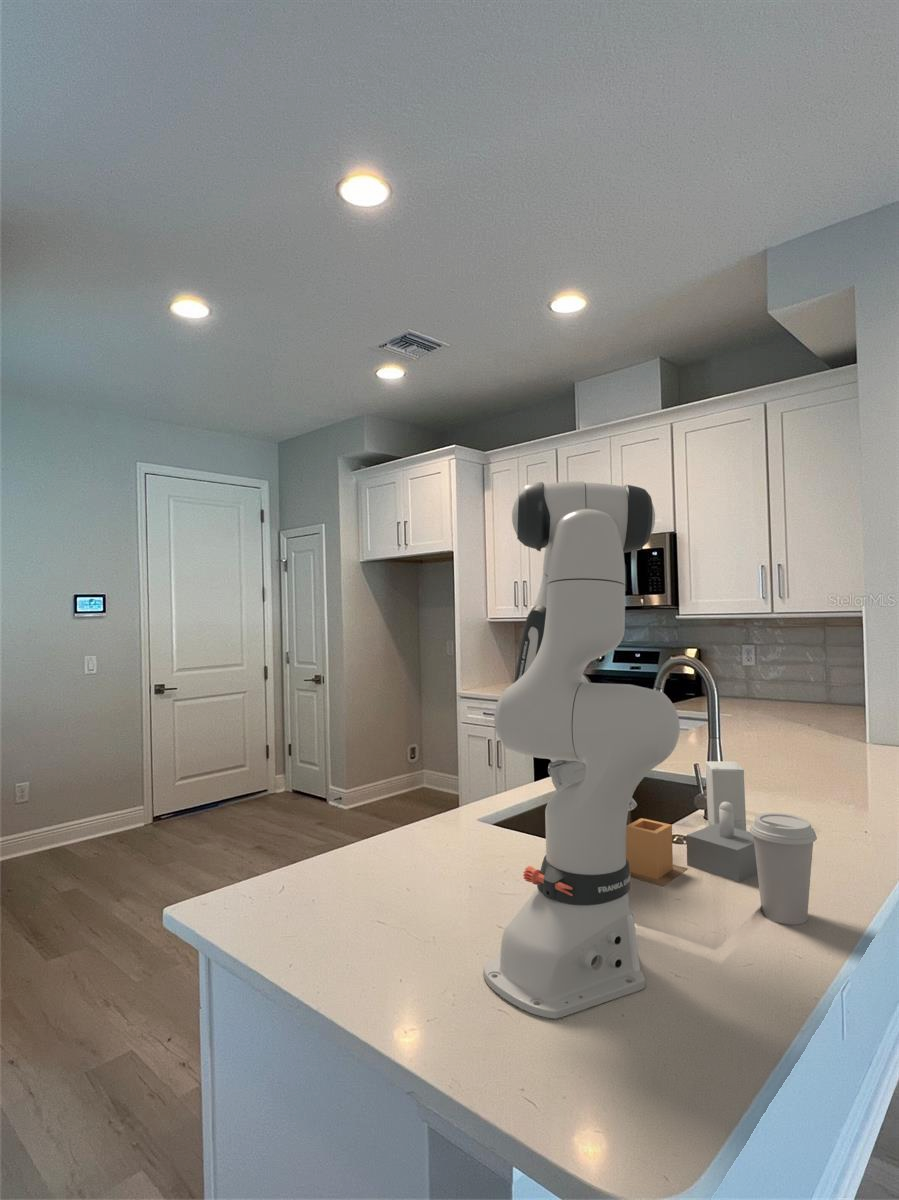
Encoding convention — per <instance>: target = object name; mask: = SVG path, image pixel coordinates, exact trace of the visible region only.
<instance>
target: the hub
mask: <svg viewBox="0 0 899 1200" xmlns="http://www.w3.org/2000/svg"><path fill="white" fill-rule="evenodd" d="M719 820H720V824H718V823H717V824H714V825H712V826H709V827H708V826H707V827H704V828H701V829H699V830H696V831H693V832H690V833H688V834H686V866H688V867H691V868H694V869H696V870H699V871H703V872H706V873H709V874H711V875H714V876H718V877H721V878H724V879H726V880H730V881H733V882H735V883H740V882H742V881H745V880H746V879H749V878H750V877H753V876H755V875H756V874H757V875H758V873H757V863H756V855H755V846H754V838H753V835H752V834H751V833H750V831H747V830H746V831H744V830H740V829H736V828H734V809H733V806H732V804H731V803H729V802H722V803H721V804H720V806H719Z"/></svg>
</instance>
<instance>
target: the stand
mask: <svg viewBox="0 0 899 1200" xmlns="http://www.w3.org/2000/svg"><path fill="white" fill-rule="evenodd" d="M688 869H689V868H688V867H684V866H681V865H676V864H673V869H672V870H671V871H669V872H668V873H666V874H665V875H663V876H662V877H660V878H659V879H654V878H651V877H647V876H643V875H640V874H636V873H633V872H630V873H631V878H632V879H636V880H639V881H642V882H647V883H650V884H653V885H657V886H660V887H665V886H667V885H668V884H670V882H672V881H673V880H675V879H676V878H677V877H679V876H680V875H682V874H683V873H684V872H686V871H687V870H688Z"/></svg>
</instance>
